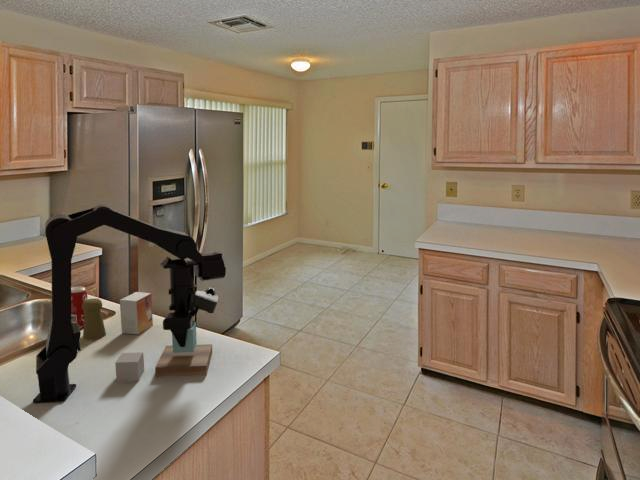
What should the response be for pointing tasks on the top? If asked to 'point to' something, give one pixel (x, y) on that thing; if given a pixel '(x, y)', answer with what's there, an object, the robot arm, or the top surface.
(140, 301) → the small box
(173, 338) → the teal block
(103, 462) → the top surface
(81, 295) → the soda can
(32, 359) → the top surface
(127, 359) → the grey block
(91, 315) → the cork
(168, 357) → the walnut block
